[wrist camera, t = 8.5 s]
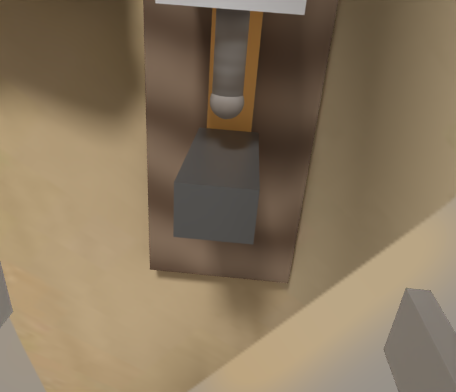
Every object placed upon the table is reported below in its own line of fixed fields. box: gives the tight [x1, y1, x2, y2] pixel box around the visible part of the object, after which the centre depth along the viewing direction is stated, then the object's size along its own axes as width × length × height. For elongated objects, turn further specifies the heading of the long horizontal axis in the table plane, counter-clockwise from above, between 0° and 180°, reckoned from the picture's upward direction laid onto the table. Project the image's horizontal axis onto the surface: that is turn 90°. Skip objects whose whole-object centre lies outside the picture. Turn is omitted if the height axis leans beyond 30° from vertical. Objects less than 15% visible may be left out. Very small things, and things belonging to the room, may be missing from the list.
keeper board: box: [143, 0, 338, 283], centre depth 24 cm, size 26×12×12 cm, turn 176°
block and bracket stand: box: [155, 0, 307, 245], centre depth 21 cm, size 13×6×10 cm, turn 176°
